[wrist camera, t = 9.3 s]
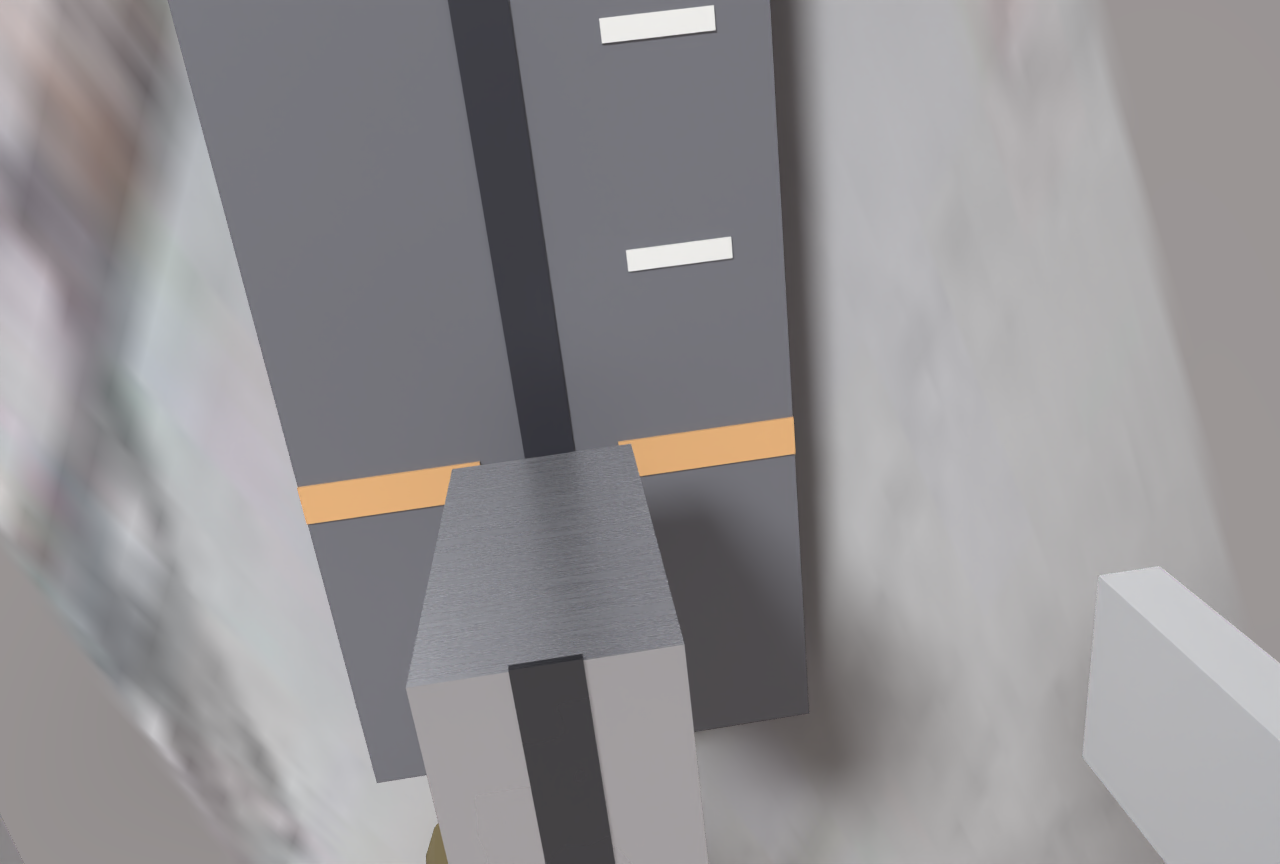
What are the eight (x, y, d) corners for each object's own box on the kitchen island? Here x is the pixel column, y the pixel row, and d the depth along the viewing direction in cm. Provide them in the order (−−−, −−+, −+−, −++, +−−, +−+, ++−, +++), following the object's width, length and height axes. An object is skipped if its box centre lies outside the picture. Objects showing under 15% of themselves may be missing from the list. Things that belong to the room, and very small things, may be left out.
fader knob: (463, 414, 18) (403, 687, 10) (617, 392, 18) (684, 643, 10) (498, 598, 19) (471, 966, 11) (640, 577, 20) (715, 924, 12)
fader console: (108, -382, 15) (46, -450, 13) (718, -435, 16) (743, -507, 14) (389, 726, 23) (376, 784, 21) (787, 663, 24) (809, 714, 22)
